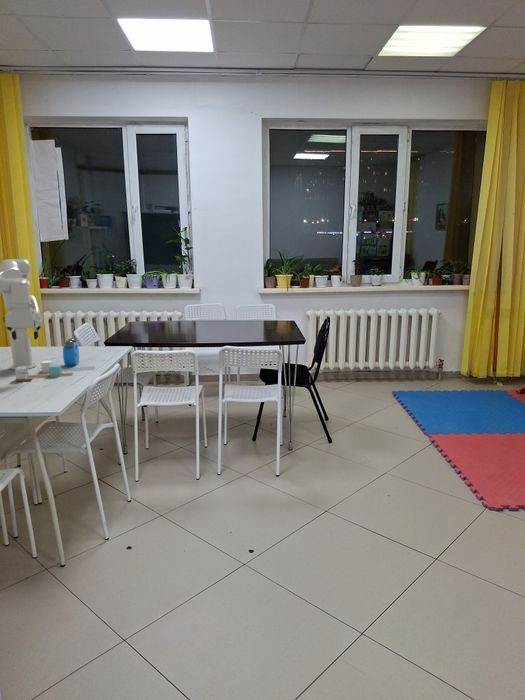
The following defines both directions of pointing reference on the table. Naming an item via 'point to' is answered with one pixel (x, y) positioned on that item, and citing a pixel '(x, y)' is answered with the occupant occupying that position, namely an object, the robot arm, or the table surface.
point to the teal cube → (55, 370)
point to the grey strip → (46, 365)
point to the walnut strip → (23, 375)
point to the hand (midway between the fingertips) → (25, 339)
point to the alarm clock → (71, 352)
